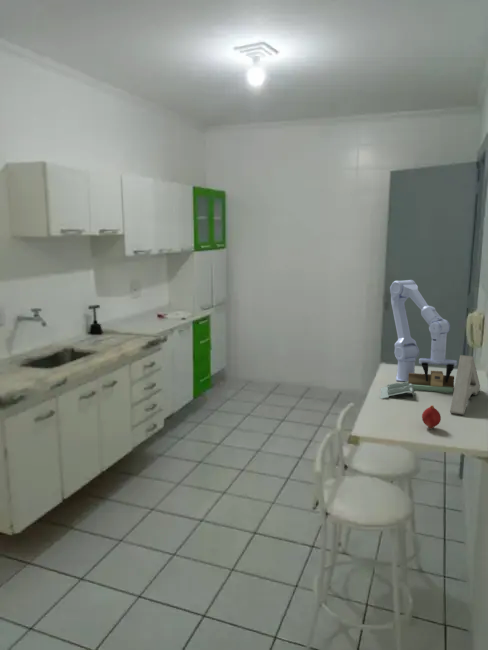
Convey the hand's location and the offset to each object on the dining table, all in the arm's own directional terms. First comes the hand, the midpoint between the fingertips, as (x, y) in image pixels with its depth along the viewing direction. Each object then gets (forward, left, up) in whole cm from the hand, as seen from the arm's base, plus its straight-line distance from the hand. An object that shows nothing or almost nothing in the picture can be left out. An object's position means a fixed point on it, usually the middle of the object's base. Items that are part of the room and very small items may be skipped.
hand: (436, 381), depth 211 cm
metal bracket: (+12, -16, -4) cm, 20 cm away
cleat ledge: (+1, -2, -3) cm, 4 cm away
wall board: (-4, -2, -3) cm, 5 cm away
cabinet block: (0, 0, -3) cm, 3 cm away
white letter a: (+15, +10, -4) cm, 18 cm away
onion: (+48, -5, -3) cm, 49 cm away
